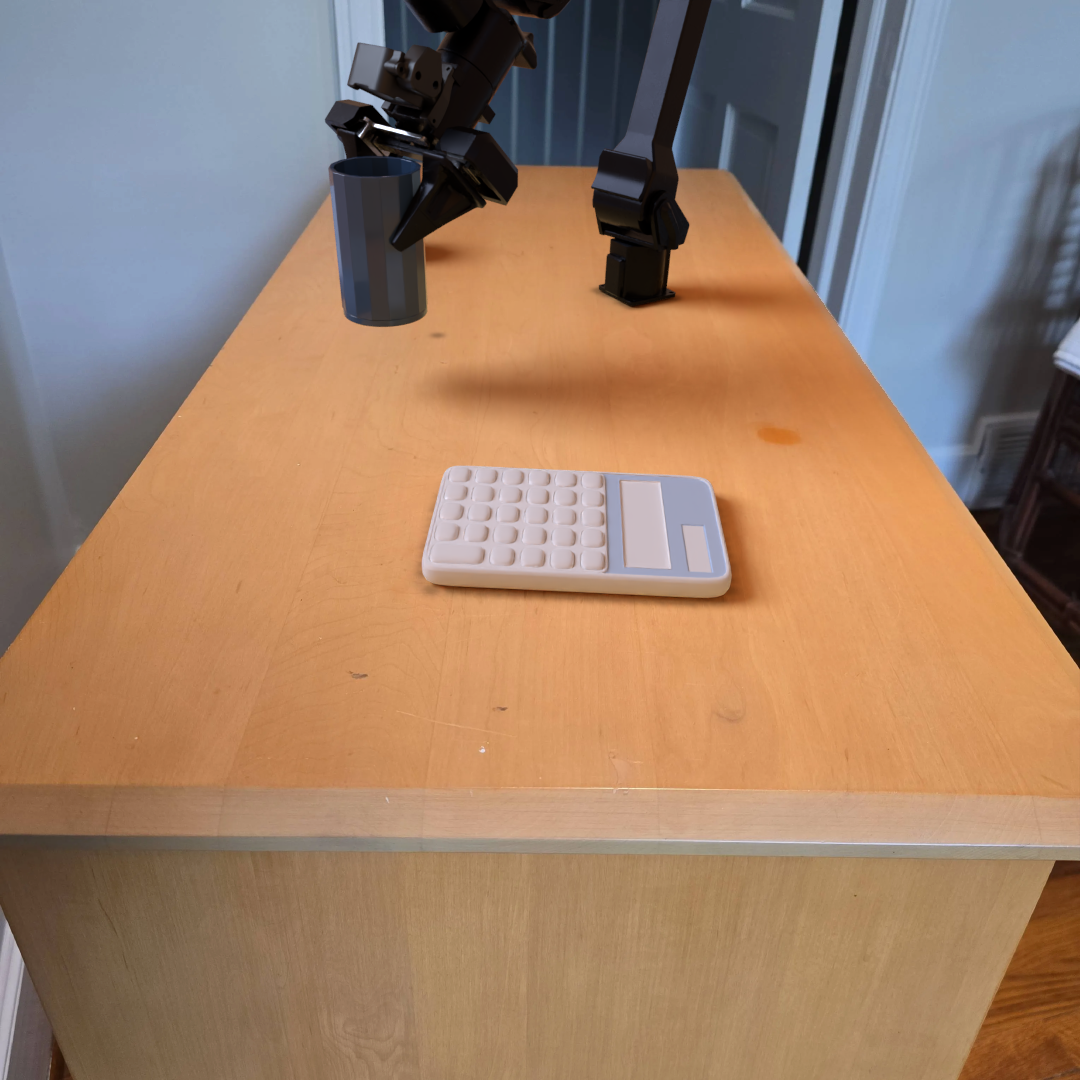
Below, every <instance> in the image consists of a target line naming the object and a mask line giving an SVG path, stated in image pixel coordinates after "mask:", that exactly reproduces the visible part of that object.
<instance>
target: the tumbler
mask: <svg viewBox="0 0 1080 1080" xmlns="http://www.w3.org/2000/svg"><path fill="white" fill-rule="evenodd" d="M327 171H328V179H329V190H330V191H329V192H330V199H331V200H330V201H331V209H332V219H333V230H334V239H335V240H334V241H335V248H336V249H335V250H336V258H337V259H336V261H337V268H338V269H337V271H338V281H339V289H340V298H341V299H340V300H341V307H342V311H343V315H344V317H345V318H346V319H347V320H348V321H349V322H351V323H354V324H356V325H360V326H366V327H373V328H374V327H375V328H391V327H400V326H405V325H406V326H407V325H409V324H412V323H415V322H418V321H420V320H421V319H423V318H425V316H426V315H427V313H428V303H429V302H428V281H427V261H426V239H425V238H426V237H424V238H423V239H421V240H420V241H418V242H416V243H415V244H413V245H412V246H410V247H409V248H407V249H405V250H404V251H402V252H400V251H398V250H396V249H395V248H394V247H393V246H392V240H393V237H394V235H395V233H396V230H397V228H398V226H399V224H400V222H401V220H402V218H403V216H404V214H405V212H406V210H407V208H408V206H409V205H410V203H411V201H412V199H413V197H414V195H415V193H416V191H417V189H418V187H419V185H420V184H421V181H422V165H421V164H420V163H419V162H417V161H416V160H413V159H410V158H409V159H408V158H407V157H406V158H405V157H403V158H399V157H391V156H364V157H353V158H348V159H346V158H344V159H343V158H342V159H339V160H337V161H334V162H332V163H330V164H329V166H328V168H327Z"/></svg>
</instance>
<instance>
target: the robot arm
mask: <svg viewBox="0 0 1080 1080" xmlns="http://www.w3.org/2000/svg"><path fill="white" fill-rule="evenodd" d="M402 1H403V3H404V4H405V6H406V7H407V8H408V9H409V11H410V12H411V13H412V15H413V16H414V17H415V19H416V20H417V21H418V23H419V24H420V26H422V29H424V30H425V31H427V32H428V33H430V34H440V33H445V36H444V37H443V39H442V40H441V42H440V44H439V45H438V47H437V49H436V50H435V49H433V48H431V47H430V46H426V45H420V44H412V45H411V46H410V47H409V49H408V50H407V51H406V53H405V52H404V51H401V50H396V49H393V48H389V47H387V46H381V45H377V44H371V43H365V42H356V43H357V44H356V47H355V51H354V55H353V60H352V63H351V67H350V70H349V75H348V78H347V83H346V86H347V87H349V88H351V89H352V90H354V91H359V90H361V91H363V92H364V93H367V94H369V95H371V96H373V97H376V98H378V99H380V100H381V101H383V103H382V104H381V106H380V109H382V111H383V112H384V113H385V114H386V115H387V116H388V117H389V118H392V119H393V120H394V121H395V123H394V127H393V126H392V125H391V124H390V123H389V122H388V120H386V118H385V117H384V116H383V115H382V114H381V113H380V112H379V110H377V108H376V107H375V106H374V105H373V104H371V103H370V104H369V103H365V102H361V101H357V100H353V99H340V100H335V101H334V103H333V105H332V107H331V108H330V110H329V112H328V113H327V115H326V116H325V118H324V122H325V124H326V125H327V126H328V127H329V128H330V129H331V130H332V131H333V132H334V133H335V134H336V138H337V140H339V141H340V142H341V143H342V146H343V150H344V154H345V159H348V158H353V157H364V156H391V157H399V158H404V157H406V158H409V159H412V160H413V159H414V160H418V161H420V162H421V163H422V165H421V172H422V181H421V184H420V185H419V187H418V189H417V191H416V193H415V195H414V197H413V199H412V201H411V203H410V205H409V206H408V208H407V210H406V212H405V214H404V216H403V218H402V220H401V222H400V224H399V226H398V228H397V230H396V233H395V235H394V237H393V240H392V246H393V247H394V248H395V249H396V250H398V251H400V252H402V251H404V250H405V249H407V248H409V247H410V246H412V245H413V244H415V243H416V242H418V241H420V240H421V239H423V238H424V237H425V238H426V237H428V236H430V235H431V234H432V233H434V232H436V231H437V230H439V229H441V228H442V227H444V226H445V225H447V224H449V223H451V222H452V221H454V220H456V219H459V218H460V217H462V216H464V215H465V214H468V213H469V212H471V211H473V210H474V209H484V208H485V207H486V205H487V201H489V202H492V203H495V204H498V205H501V206H505V207H507V206H508V204H509V202H510V201H511V198H512V197H513V195H514V194H515V192H516V190H517V189H518V187H519V169H518V167H517V166H516V165H515V163H514V162H513V161H512V160H511V159H510V157H509V155H507V153H506V151H504V149H503V148H502V147H501V145H500V144H499V143H498V142H497V140H496V139H495V138H494V136H492V134H491V133H490V132H488V131H484V130H479V129H476V127H477V125H478V123H482V124H486V125H491V123H492V122H493V120H494V119H495V116H496V115H497V114H496V113H495V111H494V109H493V108H492V107H491V106H490V103H491V102H492V100H493V99H494V96H495V95H496V93H497V92H498V90H499V88H500V87H501V85H502V83H503V82H504V80H505V78H506V77H507V75H508V73H509V72H510V70H511V68H512V67H516V68H521V69H526V70H527V69H529V70H535V69H537V68H538V55H537V52H536V48H535V45H534V44H535V43H534V40H535V39H534V38H535V35H534V33H533V32H530V31H529V32H528V31H522V29H521V27H520V26H519V24H518V23H517V21H516V19H515V18H514V16H518V17H525V18H534V19H541V20H549V19H550V20H551V19H553V18H554V17H556V16H559V15H560V14H561V13H562V11H564V9H565V8H566V7H567V6H568V5H569V3H570V2H571V1H572V0H402ZM712 2H713V1H712V0H659V2H658V6H657V10H656V14H655V17H654V22H653V26H652V30H651V34H650V37H649V42H648V45H647V50H646V54H645V58H644V62H643V66H642V69H641V74H640V78H639V82H638V84H637V85H638V86H637V89H636V93H635V97H634V102H633V105H632V109H631V113H630V117H629V122H628V125H627V128H626V133H625V135H624V137H623V138H622V139H621V140H620V141H619V143H617V145H616V146H615V147H614V148H613V149H611V148H603V150H602V152H601V153H600V155H599V158H598V165H597V170H596V174H595V177H594V179H593V181H592V184H591V186H590V188H591V189H592V190H593V193H592V200H591V202H592V203H591V204H592V205H591V206H592V209H594V213H595V218H596V219H595V220H596V223H597V229H598V233H599V235H601V236H607V237H610V239H609V240H610V241H609V253H607V254H606V259H605V260H606V261H605V275H604V283H601V284H598V291H601V292H602V293H604V294H607V295H608V296H610V297H612V298H613V299H615V300H618V301H620V302H621V303H623V304H626V305H628V306H630V307H635V306H640V305H641V306H642V305H645V304H650V303H654V302H655V303H656V302H660V301H664V300H668V299H673V298H675V297H676V294H677V293H676V291H674V290H671V289H670V288H668V282H669V272H670V271H669V270H670V262H671V253H672V251H676V250H679V246H681V245H684V244H685V243H686V240H687V236H688V232H689V229H690V222H689V221H688V219H687V217H686V216H685V214H684V212H683V210H682V209H681V207H680V206H679V204H678V202H677V200H676V197H677V191H678V186H679V181H680V179H679V172H678V169H677V164H676V159H675V155H674V151H673V146H674V141H675V138H676V134H677V130H678V127H679V123H680V119H681V115H682V112H683V108H684V105H685V102H686V97H687V93H688V90H689V86H690V82H691V78H692V76H693V71H694V68H695V64H696V60H697V57H698V53H699V48H700V45H701V41H702V38H703V34H704V30H705V27H706V23H707V19H708V16H709V11H710V8H711V4H712Z"/></svg>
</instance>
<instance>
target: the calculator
mask: <svg viewBox="0 0 1080 1080" xmlns="http://www.w3.org/2000/svg"><path fill="white" fill-rule="evenodd" d="M431 516H432V517H431V520H430V524H429V528H428V532H427V536H426V540H425V544H424V548H423V553H422V557H421V572H422V575H423V577H424V578H425V580H426V581H427V582H429V583H430V584H434V585H439V586H448V587H469V588H485V589H486V588H488V589H508V590H511V589H512V590H525V591H526V590H529V591H546V592H547V591H549V592H551V591H552V592H571V593H573V592H574V593H588V594H589V593H592V594H612V595H633V596H634V595H635V596H653V597H654V596H656V597H671V598H672V597H675V598H697V599H698V598H699V599H701V598H703V599H709V598H711V599H712V598H718V597H721V596H723V595H725V594H726V593H727V592H728V590H729V589H730V587H731V583H732V566H731V563H730V562H731V561H730V558H729V552H728V548H727V543H726V539H725V535H724V529H723V525H722V520H721V516H720V512H719V507H718V502H717V497H716V493H715V489H714V487H713V484H712V483H711V481H709V479H707V478H705V477H701V476H695V475H683V474H682V475H681V474H663V473H640V472H639V473H638V472H618V471H616V472H615V471H598V470H597V471H596V470H595V471H593V470H576V469H575V470H574V469H551V468H531V467H529V468H528V467H507V466H489V465H488V466H486V465H453V466H449V467H448V468H446V470H445V471H444V472H443V474H442V477H441V481H440V484H439V488H438V491H437V497H436V501H435V503H434V508H433V513H432V515H431Z"/></svg>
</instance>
